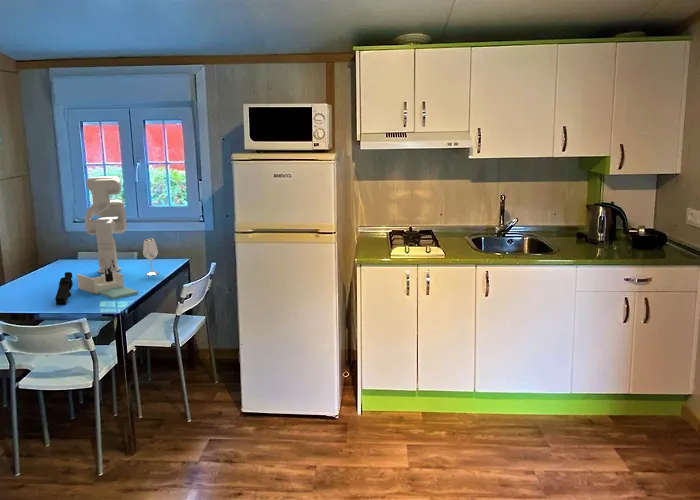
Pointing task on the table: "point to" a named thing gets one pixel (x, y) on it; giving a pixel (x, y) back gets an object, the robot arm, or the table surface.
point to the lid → (118, 292)
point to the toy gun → (64, 289)
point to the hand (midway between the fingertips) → (109, 281)
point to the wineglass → (150, 253)
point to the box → (99, 283)
